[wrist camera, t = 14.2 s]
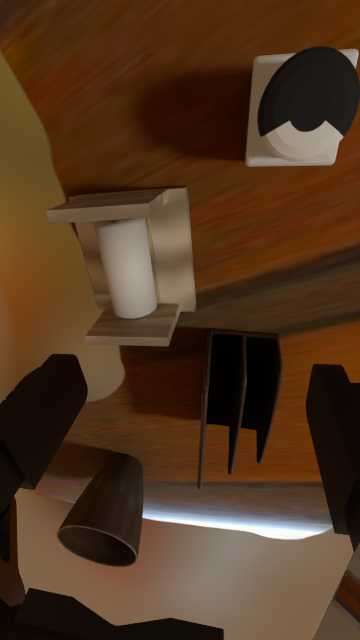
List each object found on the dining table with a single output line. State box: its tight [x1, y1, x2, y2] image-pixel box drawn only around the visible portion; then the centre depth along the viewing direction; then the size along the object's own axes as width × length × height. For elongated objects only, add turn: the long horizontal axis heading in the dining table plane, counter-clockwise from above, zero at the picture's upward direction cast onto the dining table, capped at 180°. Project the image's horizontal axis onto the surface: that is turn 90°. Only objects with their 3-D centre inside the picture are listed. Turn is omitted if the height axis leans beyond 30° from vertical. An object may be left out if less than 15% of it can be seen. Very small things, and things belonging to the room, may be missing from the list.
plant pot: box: [57, 454, 143, 567], centre depth 58 cm, size 15×15×16 cm
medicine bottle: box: [244, 47, 360, 167], centre depth 23 cm, size 7×7×12 cm
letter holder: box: [197, 329, 283, 489], centre depth 41 cm, size 10×20×14 cm, turn 0°
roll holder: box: [46, 186, 196, 346], centre depth 34 cm, size 15×14×10 cm
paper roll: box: [94, 218, 157, 318], centre depth 34 cm, size 11×6×6 cm, turn 5°
